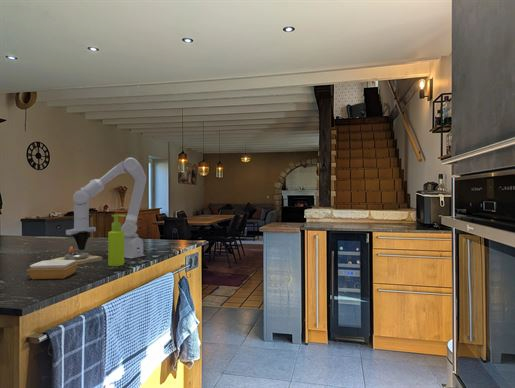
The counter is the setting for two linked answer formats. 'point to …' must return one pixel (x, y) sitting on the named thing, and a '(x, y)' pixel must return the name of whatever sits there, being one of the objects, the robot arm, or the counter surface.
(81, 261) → the board
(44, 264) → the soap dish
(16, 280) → the counter surface
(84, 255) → the handwheel
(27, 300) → the counter surface
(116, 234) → the soap dispenser
